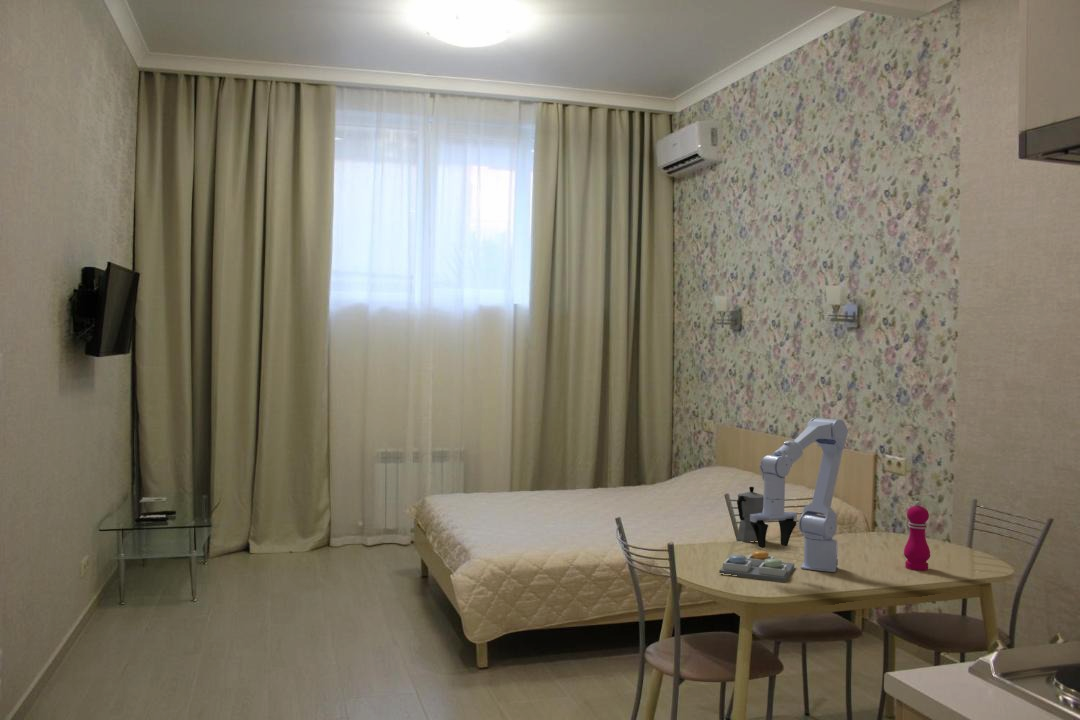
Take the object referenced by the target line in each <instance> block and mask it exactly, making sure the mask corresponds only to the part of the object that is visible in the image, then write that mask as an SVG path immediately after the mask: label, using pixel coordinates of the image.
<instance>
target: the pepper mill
mask: <svg viewBox="0 0 1080 720" xmlns="http://www.w3.org/2000/svg"><path fill="white" fill-rule="evenodd" d="M906 517H907V520H909V521H908V527H909V536H908V539H907V542H906V543H905V546H904V549H903V555H904V557H905V558H906V559H907V560H905V563H904V564H905V565H904V568H906V569H908V570H910V571H917V572H918V571H919V572H921V571H922V572H924V571H928V570H929V563H928V562H927V561H929V559H930V558H931V551H930V547H929V545H928V541H927V539H926V538H927V537H926V529H928V526H927V525H928V524H927V521H928V520H929V519H930V514H929V511H928V509H927V508H925V507H924V506H922V502H921V501H919V500H916V501H915V502H914V506H911V507H909V508H908V509H907V511H906Z"/></svg>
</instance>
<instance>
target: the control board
mask: <svg viewBox="0 0 1080 720" xmlns="http://www.w3.org/2000/svg"><path fill="white" fill-rule="evenodd" d="M768 559H775V556H774V555H773V556H772V555H769V556H768ZM793 568H794V569H795V563H792V562H785V561H782V567H781V568H778V569H776V568H767V567H765V560H760V559H753V558H752V553H750V554H749V555H748V556H747V557H746V562H745V564H732V563H729V557H727V558H726V559H725V560H724V561H723V562H722V567H721V568H720V569H719V573H724V574H731V575H737V576H743V577H742V578H744V577H748V578H747V579H752V578H756V579H755V580H762V581H771V582H778V583H786V581H787V580H788V578H789V577H790V576H791V575H790V574H791V573H792V571H794V569H793ZM719 573H718V574H719Z"/></svg>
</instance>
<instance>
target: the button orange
mask: <svg viewBox="0 0 1080 720" xmlns="http://www.w3.org/2000/svg"><path fill="white" fill-rule="evenodd" d="M751 554H752V558H753V559H760V560H765V559H768V556H770V555H769V552H768V551H765V550H753V551H752V552H751Z"/></svg>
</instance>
